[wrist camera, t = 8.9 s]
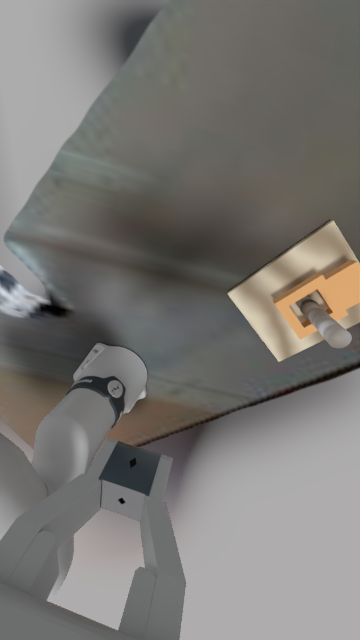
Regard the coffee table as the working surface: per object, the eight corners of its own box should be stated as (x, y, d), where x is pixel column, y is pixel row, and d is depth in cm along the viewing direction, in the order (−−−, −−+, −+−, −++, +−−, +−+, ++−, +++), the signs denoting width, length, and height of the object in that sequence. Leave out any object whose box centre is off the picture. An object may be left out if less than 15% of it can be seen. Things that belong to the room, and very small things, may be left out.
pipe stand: (277, 358, 47) (299, 420, 32) (227, 291, 44) (224, 325, 29) (382, 305, 39) (478, 355, 24) (329, 220, 36) (401, 215, 21)
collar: (297, 334, 40) (300, 339, 38) (272, 300, 39) (274, 303, 37) (372, 295, 35) (380, 298, 33) (347, 254, 34) (353, 255, 32)
